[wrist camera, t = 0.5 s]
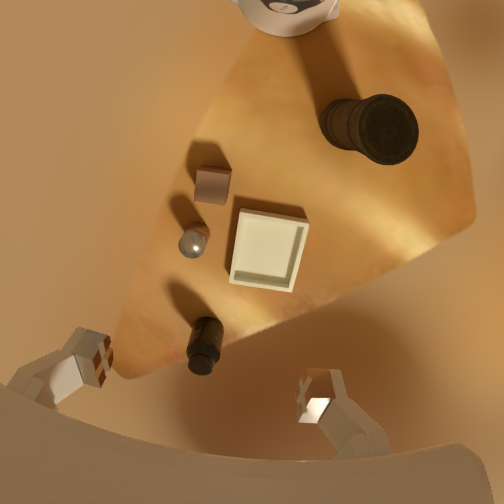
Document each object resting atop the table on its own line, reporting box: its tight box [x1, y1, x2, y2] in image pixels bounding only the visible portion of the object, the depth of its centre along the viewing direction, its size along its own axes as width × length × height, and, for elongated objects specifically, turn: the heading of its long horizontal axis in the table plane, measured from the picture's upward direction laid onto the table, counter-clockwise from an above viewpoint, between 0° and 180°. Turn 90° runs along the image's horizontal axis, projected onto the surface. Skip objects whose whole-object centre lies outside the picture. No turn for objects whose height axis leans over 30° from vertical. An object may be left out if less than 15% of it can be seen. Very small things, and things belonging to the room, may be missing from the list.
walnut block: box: [194, 165, 232, 205], centre depth 48 cm, size 5×5×5 cm
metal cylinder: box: [178, 222, 210, 258], centre depth 52 cm, size 4×4×6 cm
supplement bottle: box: [186, 317, 224, 375], centre depth 59 cm, size 7×7×12 cm
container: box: [320, 94, 419, 165], centre depth 37 cm, size 9×9×18 cm
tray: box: [229, 208, 310, 292], centre depth 54 cm, size 14×12×2 cm
